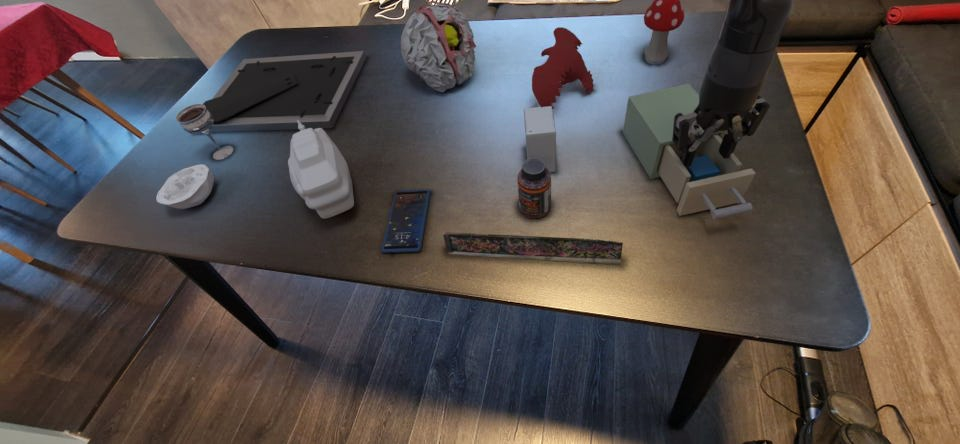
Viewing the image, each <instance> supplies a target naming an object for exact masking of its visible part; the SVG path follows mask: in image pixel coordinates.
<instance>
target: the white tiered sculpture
mask: <svg viewBox="0 0 960 444" xmlns="http://www.w3.org/2000/svg"><path fill="white" fill-rule="evenodd" d="M297 122H298V129H297V130H299V131H297V132H295V133H293V134H292V135H291V139H290V143H289V144H290V147H289V149H290V150H289V158H288V159H287V166H288V172H289V179H290V182H291V184H292V187H293V188H294V190H295V192H296V193H297V194H298V195H299V196H300V198H301V199H302V200H303V201H304V203H305V205H306V206H307V208H309V209H310V210H314V211H316V213H317V214H318V216H319V217H320V218H321V219H323V220H325V219H330V218H332V217H335V216H337V215H339V214H342V213H344V212H346V211H349V210H351V209H352V208H353V207H354V206H355V199H354V188H353V180H352V177H351V173H350V169H349V165H348V163H347V161H346V158H345V157H344V156H343V154H342V153H341V151H340V149H339V148H338V146H337V145H336V143H334V142H333V140H332V138H330V136H329V135H328V133H327V131H325V130H324V129H322V128H317V129H312V128H308V129H305V126H304V125H302V124H301V123H300V121H298V120H297Z"/></svg>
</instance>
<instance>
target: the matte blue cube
mask: <svg viewBox="0 0 960 444" xmlns="http://www.w3.org/2000/svg"><path fill="white" fill-rule="evenodd" d="M684 166H685V165H684ZM685 168H686V169H687V171H688V172H689V174H690V175H691V178H690V180H689V182H692V181H697V180H701V179H706V178H710V177H715V176H718V175H719V172H720V171H719V169H718V168H717V167H716V165H715V164H714V163H713V162H712V160H711V159H710V158H709V156H708V155H706V156H701V157H697V158H694V159H693V162H692V165H691V166H689V167H685Z"/></svg>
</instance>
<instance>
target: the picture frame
mask: <svg viewBox="0 0 960 444" xmlns="http://www.w3.org/2000/svg"><path fill="white" fill-rule="evenodd" d="M366 60H367V55H366V53H365V51H364V50H359V51H357V50H355V51H343V52H328V53H313V54H298V55H284V56H283V55H282V56H269V57H255V58H254V57H253V58H244V59H242V60H241V62H240V63H238V65H237V66H236V68H235V69H234V70H233V72H232V73H231V74H230V76H229V77H228V78H227V79H226V81H225V82H224V83H223V84H222V86H221V87H220V89H219V90H218V91H217V92H216V93H215V95H213V97H212V98H210V99H208V100H205V101H204V102H202V104H203V105H205V107H206V110H208V111H209V112H210V113H211V114H212V116H213V119H214V123H213V127H212V128H211V129H210V132H209V133H210V134H211V133H233V132H234V133H237V132H238V133H239V132H259V131H260V132H262V131H263V132H264V131H265V132H266V131H288V130H289V131H291V130H293V131H294V130H299V129H298V122H297V120H298V121H300V123H301V124H302V125H304V126H305V129H308V128H312V129H317V128H322V129H323V130H324V129H333V128H334V126H335V125H336V122H337V120H338V118H339V116H340V114H341V113H342V110H343V108H344V106H345V103H346V101H347V99H348V97H349V96H350V93H351V91H352V89H353V87H354V85H355V83H356V81H357V78H358V76H359V74H360V72H361V70H362V68H363V66H364V64H365V61H366Z"/></svg>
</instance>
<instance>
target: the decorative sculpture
mask: <svg viewBox="0 0 960 444" xmlns="http://www.w3.org/2000/svg"><path fill="white" fill-rule="evenodd" d="M430 4H431V5H430ZM400 38H401V39H400V45H399V47H400V51H401V56H402V58H403V62H404V64H405V65H406V67H407V68H408V70H410V71H412V72H413V73H415V74H416V75H417V76H418V77H420V79H422V80H423V81H424V82H425V83H426V85H427V86H429V87H430V88H432V89H433V90H434V91H437V92H440V93H445V91H446V90H448V89H452V88H455V86H456V85H458V86H461V84H463V83H464V82H465V81H468V80H470V79H471V78H472V75H473V73H474V70H475V69H474V68H475V61H476V51H475V48H477V45H476V43H475V41H474V38H475V36H474V32H473V29H472V28H471V26H470V22H469V20H468V17H467V16H466V15H465V14H464V13H463V12H462V11H461V10H460V9H459V8H457V7H456V6H453V5H452V4H450V3H448V2H440V1H439V2H438V1H436V0H430V1H428V2H426V3H425V4H423V5H421V6H420V7H419V8H418V9H416V11H414V12H413V14H411V16H409V18H408V19H407V21H406V23H405V25H404V28H403V30H402V33H401V36H400ZM423 81H420V83H422V84H424V82H423Z"/></svg>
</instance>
